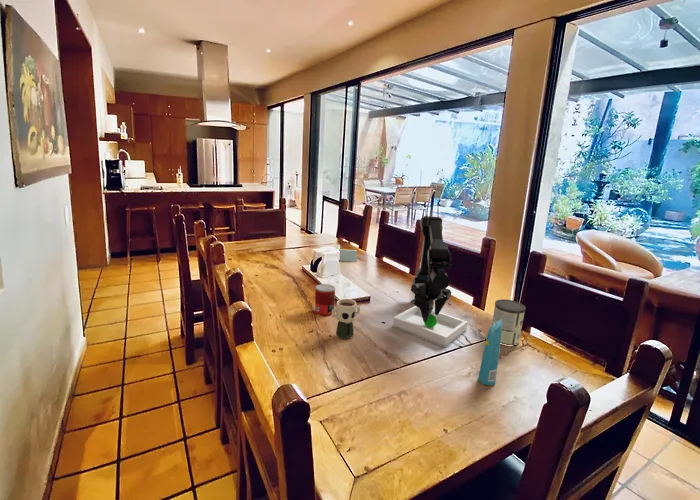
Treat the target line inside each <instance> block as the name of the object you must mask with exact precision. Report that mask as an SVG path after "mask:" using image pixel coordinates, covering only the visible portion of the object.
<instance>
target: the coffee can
mask: <svg viewBox="0 0 700 500" xmlns="http://www.w3.org/2000/svg"><path fill="white" fill-rule="evenodd" d="M525 312H526V306H525V305H524V304H522V303H521V302H518V301H515V300H511V299H502V298H501V299H496V300H495V301H494V309H493V315H492V322H491V325H493V324H494V323H496V322H497V321H499V320H502V332H501V342H500V343H502V344H506V345H515V344H518V343H519V344H520V338H521V334H522V333H521V332H522V327H523V322H524V317H525ZM519 344H518V345H519Z"/></svg>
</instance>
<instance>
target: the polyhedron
mask: <svg viewBox="0 0 700 500" xmlns="http://www.w3.org/2000/svg"><path fill="white" fill-rule="evenodd" d="M424 323H425V325H426V326H428V327H434V326H435V325H436V324H437V319H436V317H435V316H434V315H432V314H430V316H429V318H428V320H427V322H424Z"/></svg>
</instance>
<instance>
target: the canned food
mask: <svg viewBox="0 0 700 500" xmlns="http://www.w3.org/2000/svg"><path fill="white" fill-rule="evenodd" d="M335 296H336V286H334V285H332V284H328V283H320V284H317V285H316V286H315V296H314V298H315V299H314V313H315V314H317V315H318V316H322V317H329V316H332V309H335V301H336V299H335V298H336V297H335Z"/></svg>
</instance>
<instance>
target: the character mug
mask: <svg viewBox="0 0 700 500" xmlns="http://www.w3.org/2000/svg"><path fill="white" fill-rule="evenodd" d="M360 313H361V305H359V304H358V305H357V302H356V301H355V300H354V299H349V298H341V299H338V300H336V307H335V308H334V309H332V315H331V318H333V319H334V318H336V320H337V327H336V333H335V334H336V336H337V337H338V338H340V339H343V340H344V339H346V340H347V339H348V338H349V339H351V338H354V323H353V322H354V321H355V320H356V317H357V315H360Z"/></svg>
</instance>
